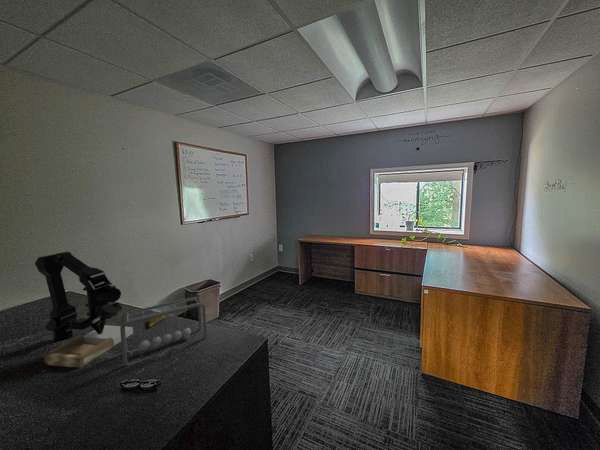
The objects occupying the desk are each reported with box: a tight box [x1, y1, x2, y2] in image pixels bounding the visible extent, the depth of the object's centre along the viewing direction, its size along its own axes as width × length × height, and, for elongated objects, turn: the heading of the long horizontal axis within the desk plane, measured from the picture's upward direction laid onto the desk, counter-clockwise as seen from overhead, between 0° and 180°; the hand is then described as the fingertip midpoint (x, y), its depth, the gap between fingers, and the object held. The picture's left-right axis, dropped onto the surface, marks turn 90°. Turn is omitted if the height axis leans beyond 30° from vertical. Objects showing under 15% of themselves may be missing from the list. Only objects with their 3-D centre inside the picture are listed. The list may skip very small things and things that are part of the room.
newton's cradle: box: [120, 296, 208, 367], centre depth 102 cm, size 30×10×18 cm, turn 126°
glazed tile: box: [69, 343, 96, 355], centre depth 99 cm, size 6×6×2 cm
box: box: [43, 334, 114, 369], centre depth 98 cm, size 16×14×4 cm
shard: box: [148, 315, 167, 328], centre depth 124 cm, size 11×8×2 cm
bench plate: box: [83, 324, 134, 347], centre depth 110 cm, size 16×10×3 cm, turn 82°
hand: (100, 334), depth 107 cm, fingers closed
